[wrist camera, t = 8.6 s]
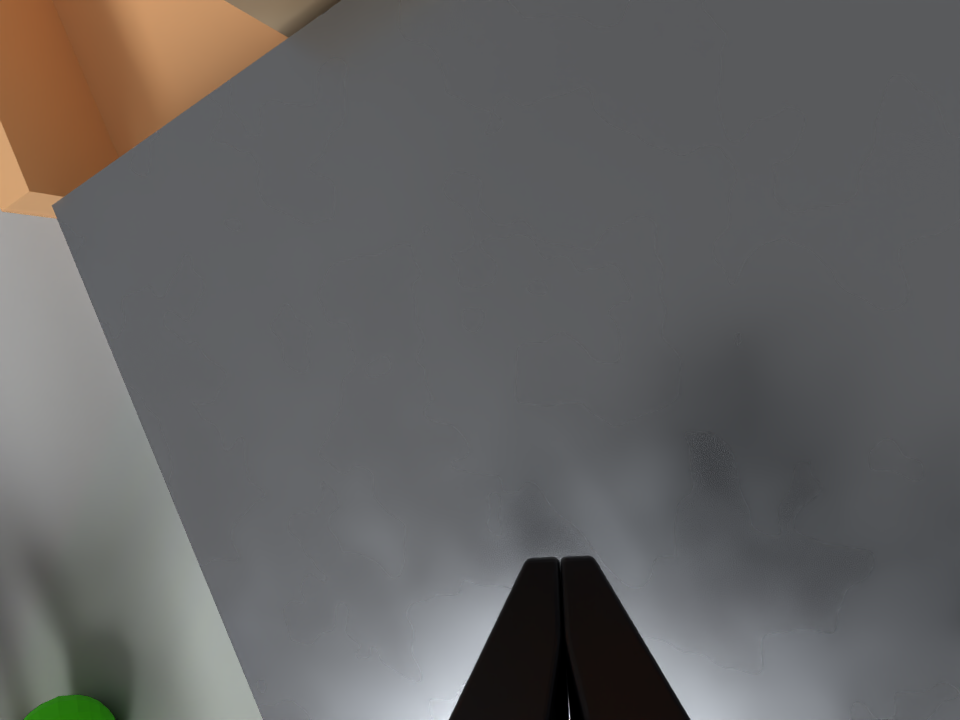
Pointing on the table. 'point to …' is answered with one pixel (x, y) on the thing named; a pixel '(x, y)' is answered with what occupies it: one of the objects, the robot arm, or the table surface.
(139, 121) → the box
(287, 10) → the beech block
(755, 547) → the slate plate
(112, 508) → the table surface
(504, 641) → the robot arm
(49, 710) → the molecular model
